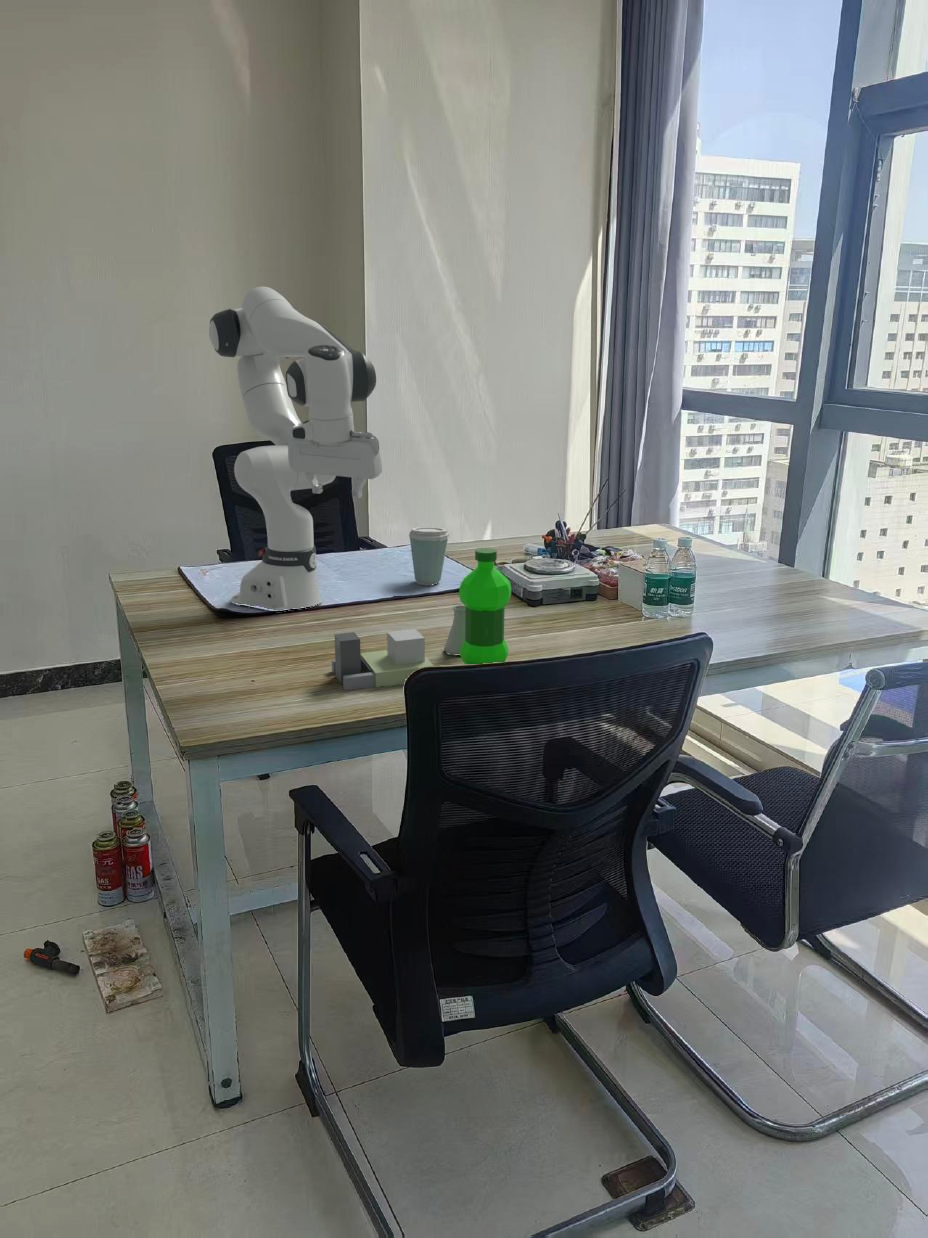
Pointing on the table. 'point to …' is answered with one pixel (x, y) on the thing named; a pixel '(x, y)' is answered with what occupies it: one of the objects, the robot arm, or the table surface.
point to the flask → (456, 631)
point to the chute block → (347, 655)
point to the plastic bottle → (484, 611)
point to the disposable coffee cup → (428, 553)
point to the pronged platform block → (389, 661)
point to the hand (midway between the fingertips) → (337, 495)
